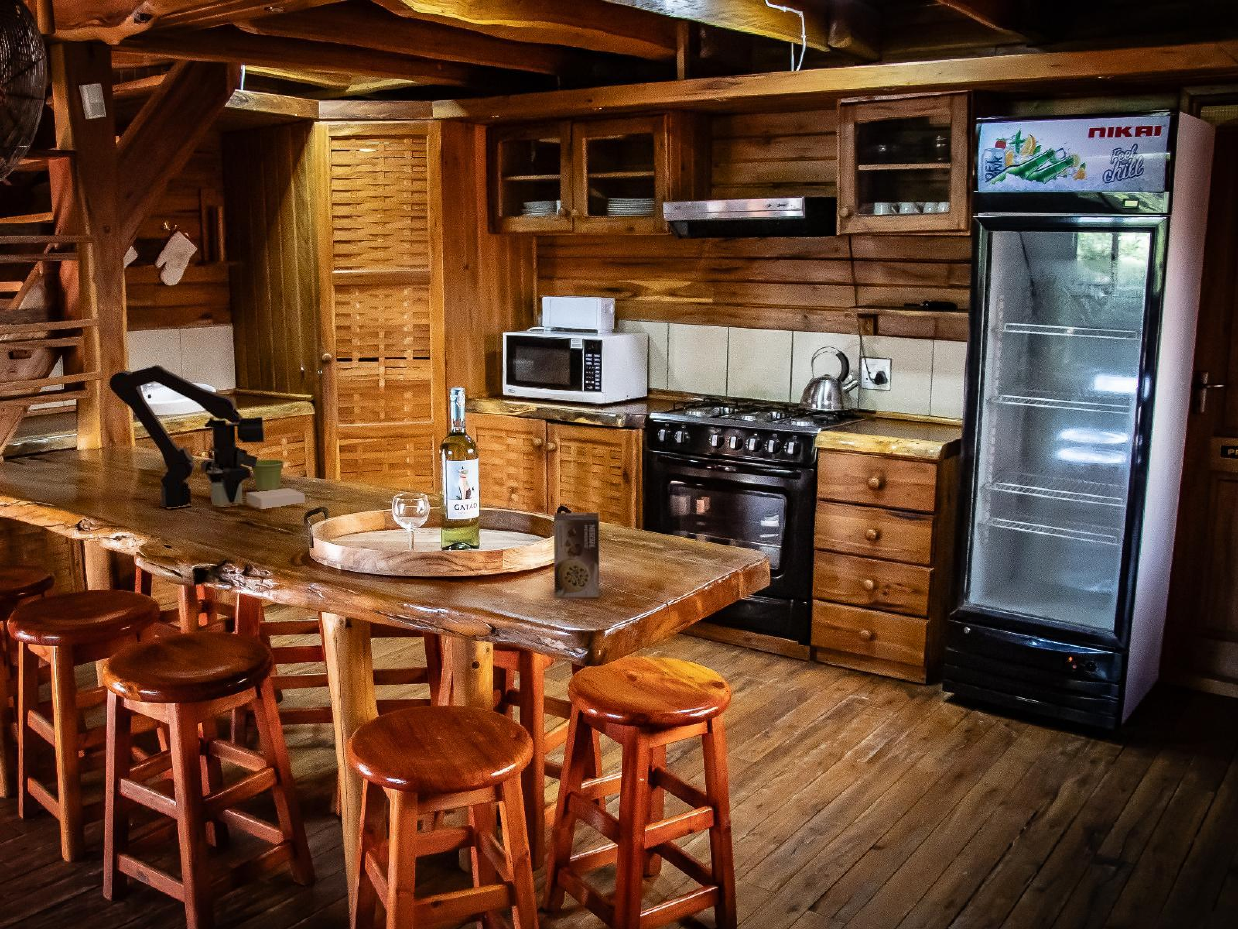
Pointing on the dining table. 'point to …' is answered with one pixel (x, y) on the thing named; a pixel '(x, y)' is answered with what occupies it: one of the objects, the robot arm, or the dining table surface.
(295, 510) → the dining table surface
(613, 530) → the dining table surface
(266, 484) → the plant pot
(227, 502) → the sage cube
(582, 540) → the coffee box
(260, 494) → the plinth
